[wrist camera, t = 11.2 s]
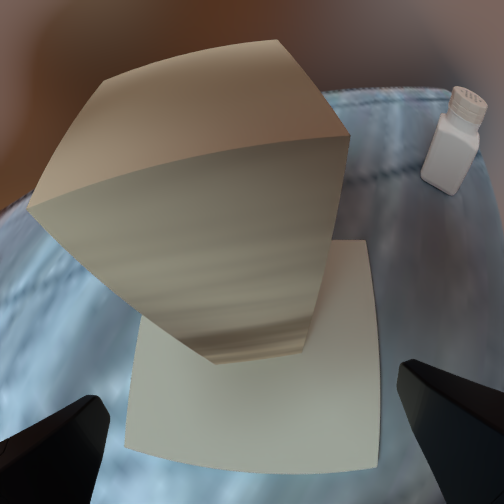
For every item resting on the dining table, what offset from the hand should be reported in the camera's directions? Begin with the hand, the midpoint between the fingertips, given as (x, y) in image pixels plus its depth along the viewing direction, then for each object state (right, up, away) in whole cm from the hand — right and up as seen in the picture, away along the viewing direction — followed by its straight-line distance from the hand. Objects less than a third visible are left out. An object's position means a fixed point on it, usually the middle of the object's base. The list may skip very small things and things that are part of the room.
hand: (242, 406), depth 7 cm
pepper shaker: (+18, +11, +15) cm, 26 cm away
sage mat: (0, -2, +9) cm, 9 cm away
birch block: (0, 0, +10) cm, 10 cm away
